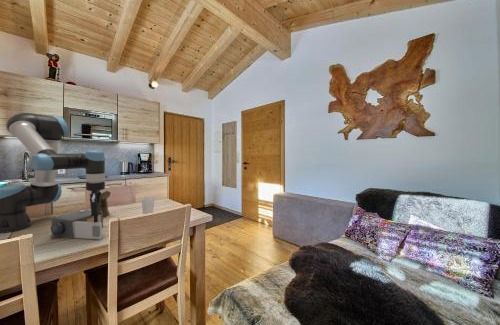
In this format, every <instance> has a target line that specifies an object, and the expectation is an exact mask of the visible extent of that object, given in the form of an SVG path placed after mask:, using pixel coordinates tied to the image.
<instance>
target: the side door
mask: <svg viewBox="0 0 500 325" xmlns="http://www.w3.org/2000/svg"><path fill="white" fill-rule="evenodd" d="M72 239H91V240H95V239H96V240H102V239H103V227H102V223H100V222H80V221H74V222H73V238H72Z"/></svg>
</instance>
